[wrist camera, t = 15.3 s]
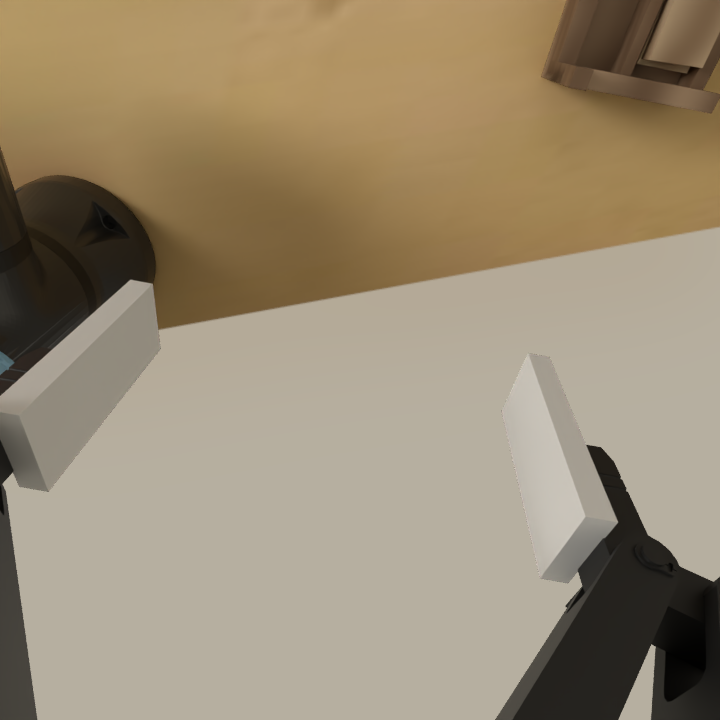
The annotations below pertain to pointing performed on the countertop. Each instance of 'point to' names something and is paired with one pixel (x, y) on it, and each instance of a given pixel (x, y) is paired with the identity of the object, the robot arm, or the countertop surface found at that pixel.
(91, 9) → the countertop surface
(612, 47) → the rack
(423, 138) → the countertop surface
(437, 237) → the countertop surface
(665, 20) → the offcut top
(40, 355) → the robot arm
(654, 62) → the offcut low
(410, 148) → the countertop surface
